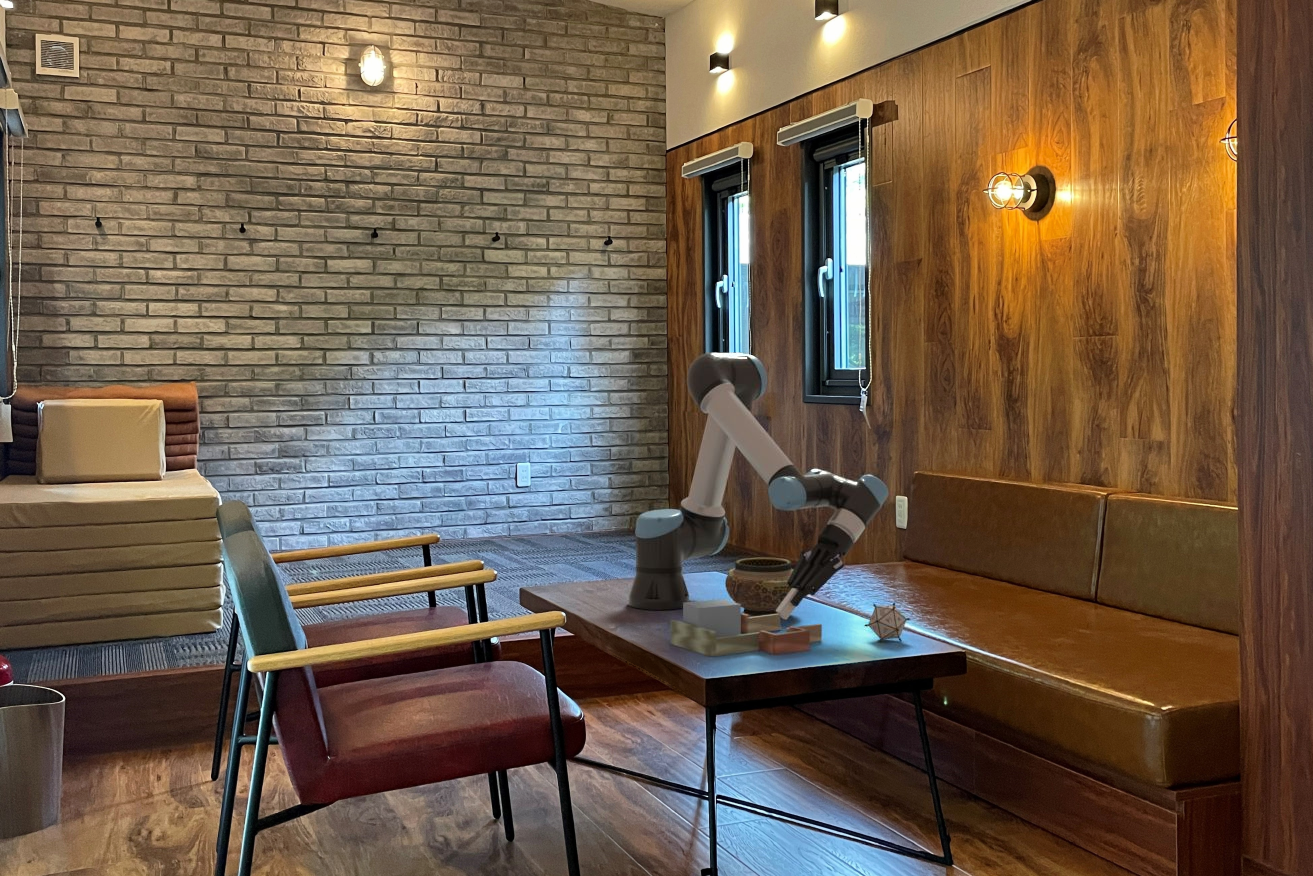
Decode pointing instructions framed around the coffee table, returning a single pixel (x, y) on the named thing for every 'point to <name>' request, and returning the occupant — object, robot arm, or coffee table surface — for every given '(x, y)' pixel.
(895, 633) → the game die
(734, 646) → the low zigzag wall
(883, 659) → the coffee table surface
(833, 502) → the robot arm
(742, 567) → the ceramic bowl
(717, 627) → the slate block
